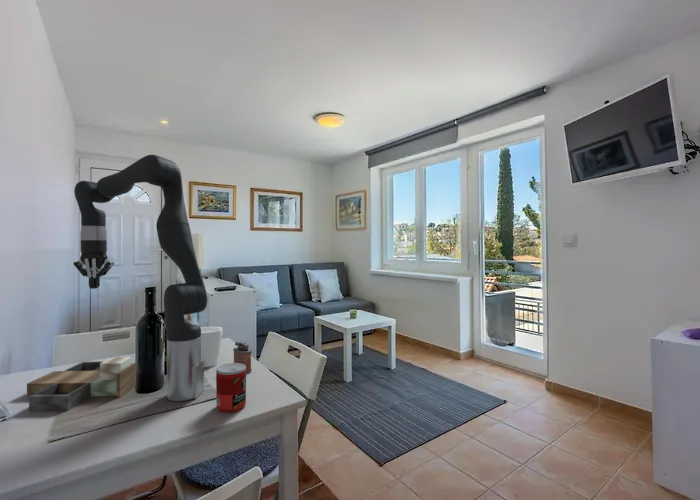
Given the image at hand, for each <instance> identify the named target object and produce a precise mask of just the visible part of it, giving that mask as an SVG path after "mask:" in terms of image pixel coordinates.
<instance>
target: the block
mask: <svg viewBox="0 0 700 500" xmlns="http://www.w3.org/2000/svg"><path fill="white" fill-rule="evenodd" d="M132 364H133V357H132V356H112V357H110V358H108V359H106V360H104V362H102V363H100V380H117V373H118V372H120V371H122V370H123V369H125V368H127V367H128V366H130V365H132Z"/></svg>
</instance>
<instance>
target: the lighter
mask: <svg viewBox="0 0 700 500" xmlns="http://www.w3.org/2000/svg"><path fill="white" fill-rule="evenodd" d="M234 344H235V346H236V347H233V349H232V350H233V363H241V364H244V365H245V366H246V374H250V373H249V372H251V371H253V369H252V353H253V352H252V350H251V349H250V348H249V344H248V343H247V342H246V341H243V342H241V341H235V343H234ZM251 373H252V372H251Z"/></svg>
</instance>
